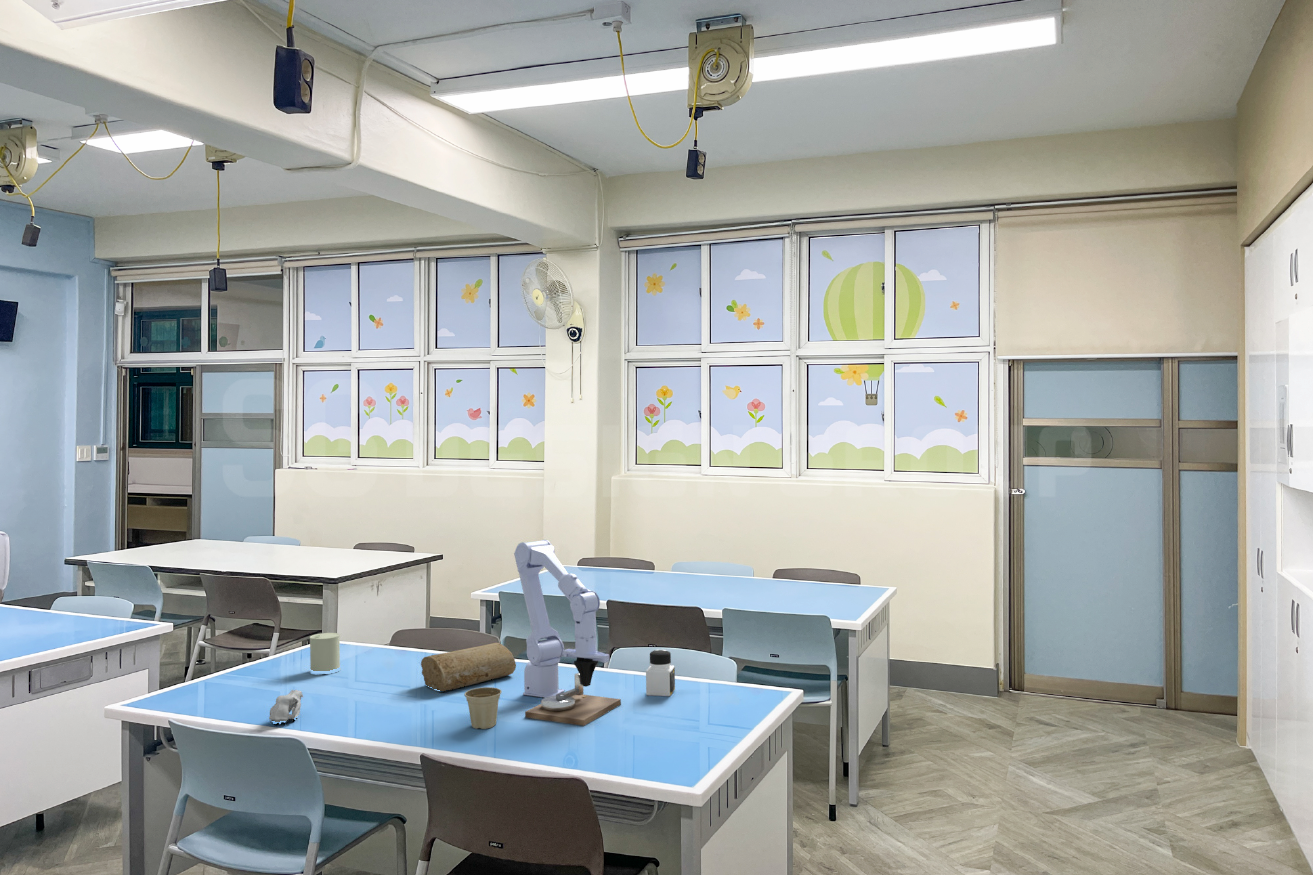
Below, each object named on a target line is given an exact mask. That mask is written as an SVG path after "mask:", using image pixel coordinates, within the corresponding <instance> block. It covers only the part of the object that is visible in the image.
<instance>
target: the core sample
mask: <svg viewBox="0 0 1313 875" xmlns="http://www.w3.org/2000/svg"><path fill="white" fill-rule="evenodd" d="M515 660H516V659H515V658H514V656H513V653H512V652H511V650H509V649H508V648H507V647H506V646H505V645H503V644H501V643H499V642H494V643H493V642H492V643H488V644H484V645H479V646H474V647H472V646H471V647H468V648H464V649H458V650H453V651H448V652H442V653H441V652H440V653H437V654H431V655H427V656H424V657H423V658H421V660H420V661H421V662H420V666H421V669H422V671H421V675H422V676H423V681H424V684H425V686H426V685H427V686H429V687H432V688H433V689H437V690H440V691H445V692H447V691H446V690H449V691H453V690H457V689H461V688H465V687H468V686H472V685H476V684H480V683H483V682H487V681H491V679H492V680H495V679H499V678H502V677H503V678H504V677H506V676H507V677H508V676H510V675H512V674H514V672H515V671H516V667H517V662H516V661H515ZM427 686H426V687H427ZM464 686H465V687H464ZM429 687H428V688H429ZM460 687H461V688H460ZM433 689H432V690H433ZM452 689H453V690H452Z"/></svg>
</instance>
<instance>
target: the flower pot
mask: <svg viewBox="0 0 1313 875" xmlns="http://www.w3.org/2000/svg"><path fill="white" fill-rule="evenodd" d="M463 694H464V697H465V699H466V702H467V706H468V711H469V718H470V724H471V728H473V729H477V730H478V729H482V730H487V729H491V728H493V727H495V725H497V718H498V708H499V700H500V698H501V695H502V689H501V688H497V687H475V688H471V689H469V690H468V689H467V691H465V692H464V693H463Z"/></svg>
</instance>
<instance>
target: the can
mask: <svg viewBox="0 0 1313 875" xmlns="http://www.w3.org/2000/svg"><path fill="white" fill-rule="evenodd" d="M340 636H341V635H340V633H338V632H337V633H336V632H322V633H317V634H313V635H311V636H309V653H310V657H309V658H310V663H309V664H310V665H309V666H310V669H311V670H313V671H330V670H333V669H337V668H339V667H340V668H341V662H340V661H341V660H340V658H341V656H340V655H341V654H340V651H341V650H340V648H341V646H340V644H341V643H340V638H341V637H340Z"/></svg>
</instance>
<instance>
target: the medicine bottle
mask: <svg viewBox="0 0 1313 875" xmlns="http://www.w3.org/2000/svg"><path fill="white" fill-rule="evenodd" d="M671 655H672V653H671V652H670V651H669V650H666V649H655V650H652V651H650V653H649V667H648V668H647V669H646V670H645V687H646V688H645V690H646V692H645V693H646V696H654V697H656V696H657V697H671V696H672V695H673V693H674V691H675V690H676V678H675V676H676V673H675V671H676V669H675V668H676V667H675V665H672V660H671V659H672V656H671Z"/></svg>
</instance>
